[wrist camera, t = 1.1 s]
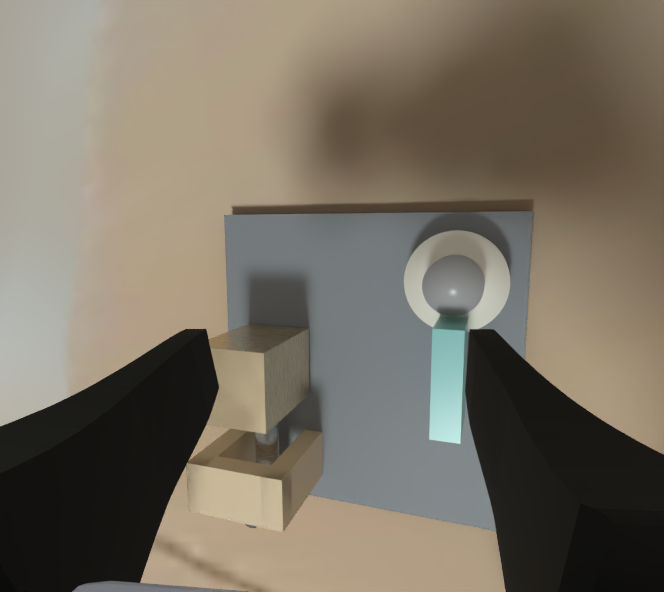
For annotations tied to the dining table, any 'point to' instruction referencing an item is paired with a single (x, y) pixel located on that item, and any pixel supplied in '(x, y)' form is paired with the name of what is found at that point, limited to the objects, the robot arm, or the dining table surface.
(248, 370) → the beige rectangular block
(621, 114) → the dining table surface
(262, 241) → the grey dial panel
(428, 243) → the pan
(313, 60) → the dining table surface
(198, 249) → the dining table surface
